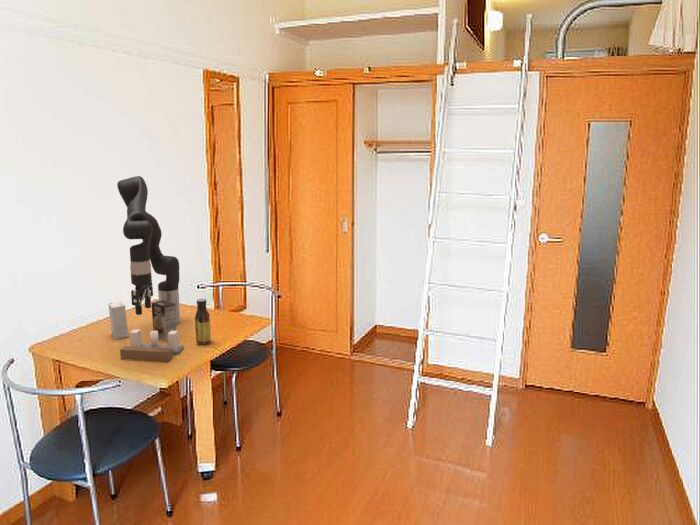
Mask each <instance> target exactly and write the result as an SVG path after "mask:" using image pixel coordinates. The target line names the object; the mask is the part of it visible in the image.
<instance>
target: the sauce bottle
mask: <svg viewBox="0 0 700 525" xmlns="http://www.w3.org/2000/svg"><path fill="white" fill-rule="evenodd" d="M196 304H197V305H196V306H197V308H196V312H195V316H194V324H195V325H194V328H195V340H196V341H195V342H196V343H197V345H208V344H209V343H210V342H211V336H212V335H211V320H210V313H209V311H208V310H207V299H206V298H197V300H196Z"/></svg>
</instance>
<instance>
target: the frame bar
mask: <svg viewBox="0 0 700 525" xmlns="http://www.w3.org/2000/svg"><path fill="white" fill-rule="evenodd" d="M119 350H120V351H119V354H120V360H125V359H131V361H141V360H144V362H158V361H160V362H162V363H169V362H170V361H171V360H172V359H173V358H174V357H173V356H174V355H173V354H172V349H171V348H154V347H137V346H131V345H124V346H123V347H121V348H120V349H119Z"/></svg>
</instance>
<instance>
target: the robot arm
mask: <svg viewBox="0 0 700 525" xmlns="http://www.w3.org/2000/svg"><path fill="white" fill-rule="evenodd" d="M116 184H117V186H116V187H117V189H118V190H117V191H118V193H119V195H120V197H121V200H123V203H124V204H125V206H126V220H125V222H124V224H123V229H122V233H123V236H124V237H125V239H128V240H142V242H140V243H137V244H133V245H131V246H130V247H129V256H130V257H129V261H130V266H129V267H130V268H129V269H130V280H131V285H133V286H135V288H134V289H132V290H131V292H130V295H131V297H130V298H131V305H132V306H134V307H135V308H134V309H135V315H137V316H141V315H142V314H143V308H142V307H143V306H142V303H143V301H144V308H145V309H152V304H151V303H152V297H153V296H154V289H153V288H154V287H153V277H152V276H153V275H152V269H153V271H154V273H155V274H157V275H161V276H165V280H163V281H160V282H159V283H158V284H157V296H158V301H162V300H164V301H168V302H171V303H175V304H176V326H178V325H179V324H180V323H181V314H180V311H181V310H180V308H181V307H180V292H179V291H180V290H179V284H180V261H179V259H178V258H177V257H176V256H173V255H172V256H170V255H164V254H163V253H162V251H161V248H160V244H161V243H160V242H161V239H162V234H163V233H162V230H161V229H162V228H161V227H160V225H159V223H158V220H157V219H156V218H155V216H153V215H152V214H150V213H149V212H147V211H146V210H147V209H146V206H147V200H148V194H149V193H148V192H149V191H148V186H147V183H146V181H145V179H144V178H143V177H142V176H141V175H135V176H132V177H128V178H124V179H122V180H119V181H118V182H117V183H116Z"/></svg>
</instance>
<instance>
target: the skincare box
mask: <svg viewBox="0 0 700 525" xmlns="http://www.w3.org/2000/svg"><path fill="white" fill-rule="evenodd" d="M108 311H109V321H110V330H111V335H112V337H113V338H114V339H115V340H118V339H125V338H128V337H129V332H128V321H127V320H128V319H127V312H126V305H125V304H124V303H123V301H118V302H113V303H112V302H111V303H108Z"/></svg>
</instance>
